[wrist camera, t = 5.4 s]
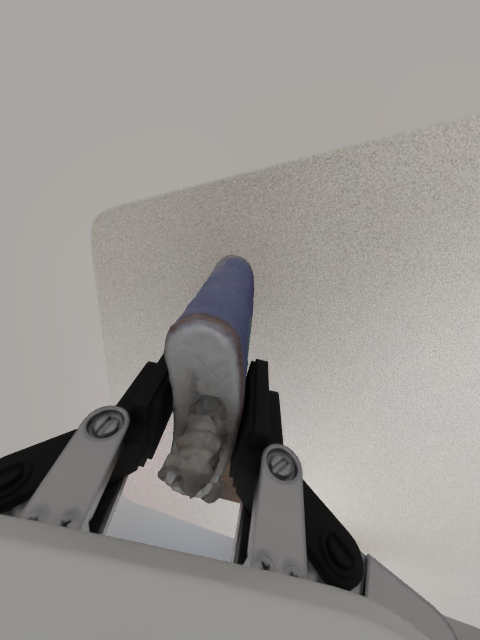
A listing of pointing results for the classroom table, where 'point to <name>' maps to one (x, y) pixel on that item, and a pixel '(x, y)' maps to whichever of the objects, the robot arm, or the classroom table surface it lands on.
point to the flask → (209, 380)
